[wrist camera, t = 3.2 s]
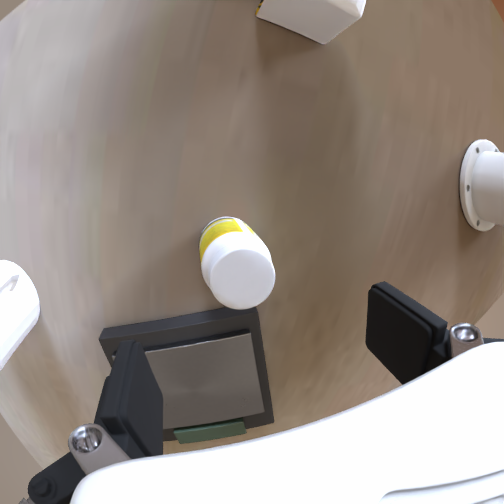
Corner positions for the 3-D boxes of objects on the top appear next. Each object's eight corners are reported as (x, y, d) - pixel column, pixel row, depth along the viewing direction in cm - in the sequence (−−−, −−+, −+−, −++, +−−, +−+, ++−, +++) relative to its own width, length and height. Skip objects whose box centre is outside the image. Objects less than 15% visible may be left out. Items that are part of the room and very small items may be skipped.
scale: (253, 301, 27) (260, 316, 24) (270, 411, 32) (276, 428, 29) (103, 328, 25) (95, 345, 22) (154, 430, 30) (153, 448, 27)
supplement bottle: (191, 258, 25) (190, 302, 17) (211, 207, 24) (219, 228, 16) (241, 276, 26) (262, 323, 18) (262, 228, 25) (294, 257, 17)
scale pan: (249, 328, 26) (250, 332, 25) (263, 407, 29) (264, 412, 28) (113, 351, 24) (111, 356, 23) (151, 425, 27) (150, 430, 26)
